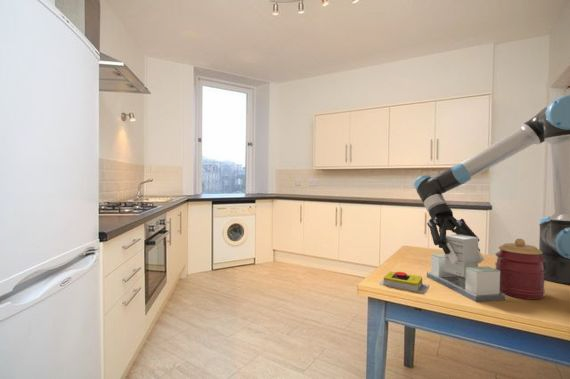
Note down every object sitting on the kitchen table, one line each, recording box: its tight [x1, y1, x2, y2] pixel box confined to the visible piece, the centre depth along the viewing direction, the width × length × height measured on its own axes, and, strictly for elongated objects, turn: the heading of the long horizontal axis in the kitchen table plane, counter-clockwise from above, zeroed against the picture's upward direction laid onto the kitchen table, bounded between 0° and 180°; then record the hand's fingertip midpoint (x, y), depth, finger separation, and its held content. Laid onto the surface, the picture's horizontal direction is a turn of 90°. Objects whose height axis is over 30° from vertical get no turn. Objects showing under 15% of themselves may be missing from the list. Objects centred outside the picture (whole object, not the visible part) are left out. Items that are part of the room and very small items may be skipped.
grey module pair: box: [430, 253, 500, 295], centre depth 103 cm, size 22×8×7 cm, turn 9°
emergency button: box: [378, 271, 430, 294], centre depth 105 cm, size 9×4×15 cm
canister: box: [494, 238, 546, 300], centre depth 99 cm, size 13×13×18 cm
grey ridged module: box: [444, 233, 479, 277], centre depth 103 cm, size 7×7×13 cm
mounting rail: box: [426, 271, 506, 303], centre depth 103 cm, size 24×10×2 cm, turn 9°
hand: (468, 261), depth 100 cm, fingers closed on grey ridged module, 9 cm apart
